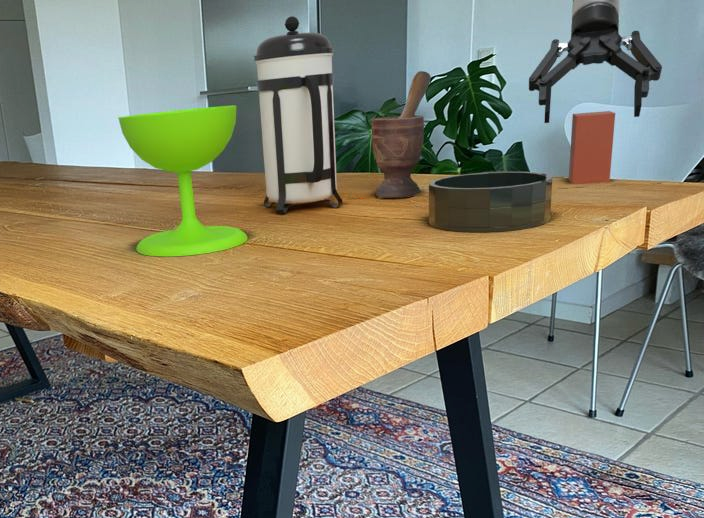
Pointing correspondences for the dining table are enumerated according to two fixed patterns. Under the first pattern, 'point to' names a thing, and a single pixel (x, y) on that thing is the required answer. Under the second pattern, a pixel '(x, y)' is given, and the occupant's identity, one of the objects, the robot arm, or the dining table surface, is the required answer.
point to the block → (591, 147)
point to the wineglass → (183, 171)
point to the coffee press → (297, 118)
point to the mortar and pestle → (400, 143)
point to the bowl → (490, 201)
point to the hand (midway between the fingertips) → (591, 114)
